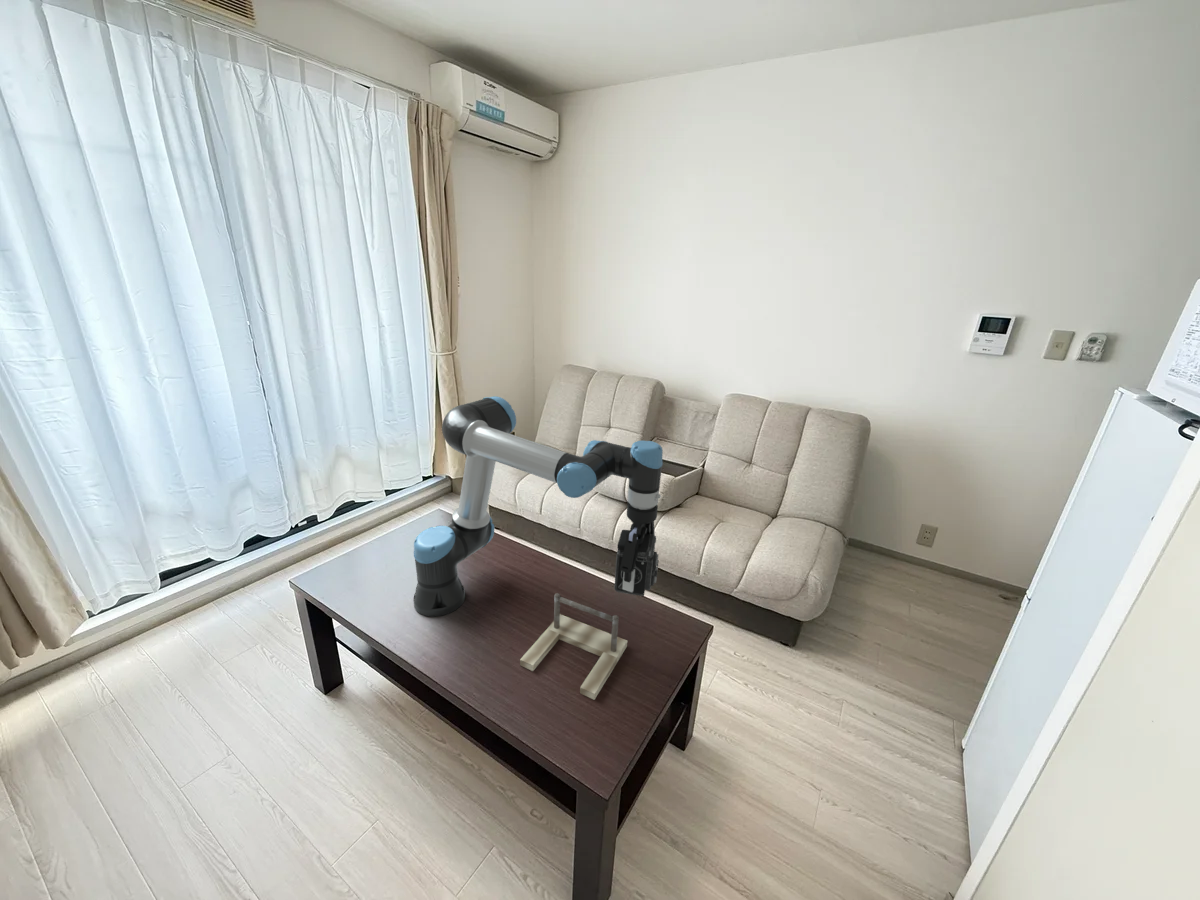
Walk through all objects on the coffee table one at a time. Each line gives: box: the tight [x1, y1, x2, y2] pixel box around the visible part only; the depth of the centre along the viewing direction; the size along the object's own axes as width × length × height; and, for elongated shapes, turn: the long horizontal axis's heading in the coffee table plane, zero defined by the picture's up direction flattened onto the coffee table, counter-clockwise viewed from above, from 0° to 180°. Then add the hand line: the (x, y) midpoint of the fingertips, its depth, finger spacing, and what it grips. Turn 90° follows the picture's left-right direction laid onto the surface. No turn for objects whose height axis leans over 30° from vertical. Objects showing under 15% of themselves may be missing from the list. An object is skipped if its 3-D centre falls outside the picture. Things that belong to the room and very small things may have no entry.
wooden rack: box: [519, 592, 628, 701], centre depth 123 cm, size 22×20×13 cm
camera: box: [614, 529, 660, 597], centre depth 119 cm, size 10×11×15 cm
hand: (636, 577), depth 121 cm, fingers closed on camera, 11 cm apart
